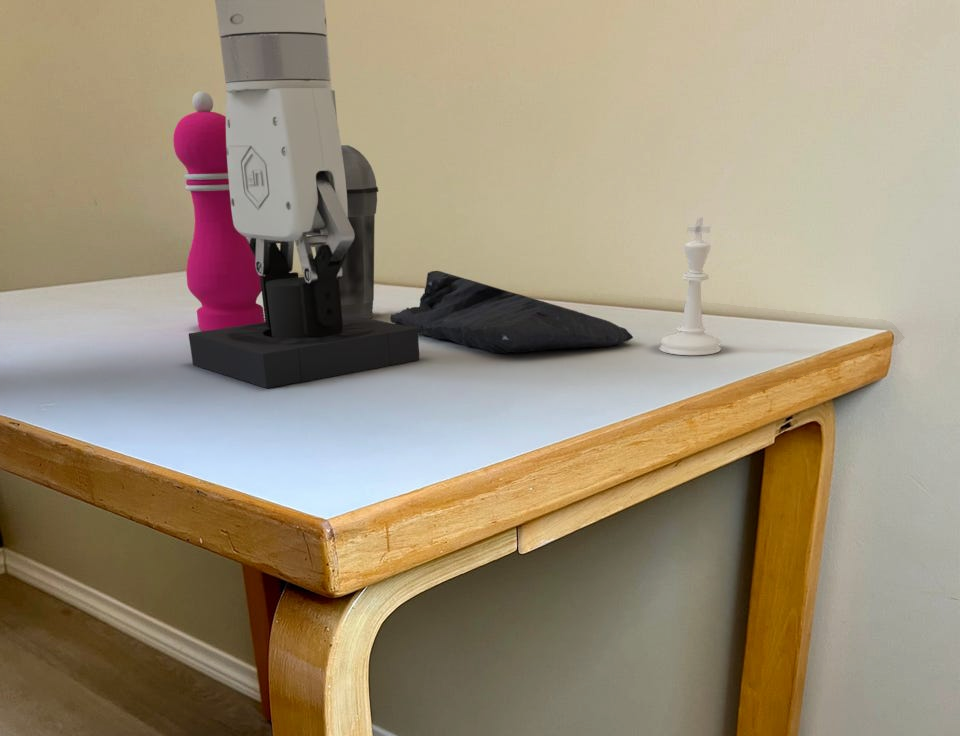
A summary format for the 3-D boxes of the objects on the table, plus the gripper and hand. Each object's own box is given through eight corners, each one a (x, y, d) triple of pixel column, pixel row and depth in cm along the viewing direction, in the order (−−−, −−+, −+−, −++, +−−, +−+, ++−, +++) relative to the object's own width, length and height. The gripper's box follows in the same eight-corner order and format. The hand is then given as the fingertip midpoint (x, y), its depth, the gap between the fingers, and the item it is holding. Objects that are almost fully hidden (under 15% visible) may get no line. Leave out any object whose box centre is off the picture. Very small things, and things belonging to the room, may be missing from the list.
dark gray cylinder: (293, 342, 77) (287, 287, 75) (260, 334, 81) (253, 281, 79) (350, 333, 80) (345, 280, 78) (315, 325, 84) (310, 275, 82)
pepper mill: (280, 320, 100) (255, 91, 91) (253, 334, 93) (223, 88, 84) (212, 320, 101) (180, 93, 92) (181, 333, 95) (143, 91, 86)
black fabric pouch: (483, 366, 78) (482, 303, 76) (381, 325, 96) (378, 273, 94) (647, 346, 84) (650, 286, 82) (522, 311, 102) (522, 261, 100)
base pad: (266, 388, 73) (262, 353, 72) (192, 365, 81) (187, 333, 80) (419, 360, 81) (418, 328, 80) (338, 341, 89) (335, 312, 88)
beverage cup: (314, 325, 97) (291, 88, 88) (313, 313, 104) (292, 92, 94) (389, 321, 98) (374, 87, 89) (383, 310, 104) (369, 90, 95)
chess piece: (667, 342, 85) (675, 214, 81) (725, 345, 84) (737, 215, 79) (653, 353, 81) (660, 219, 77) (714, 357, 80) (725, 220, 75)
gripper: (175, 74, 76) (211, 324, 84) (293, 59, 64) (321, 351, 72) (263, 75, 80) (289, 313, 88) (389, 61, 68) (405, 337, 76)
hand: (303, 327), depth 80 cm, fingers closed on dark gray cylinder, 5 cm apart
